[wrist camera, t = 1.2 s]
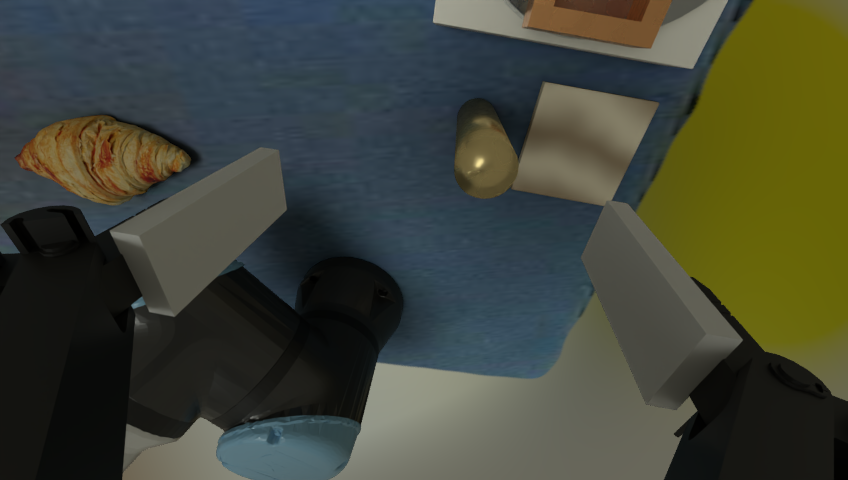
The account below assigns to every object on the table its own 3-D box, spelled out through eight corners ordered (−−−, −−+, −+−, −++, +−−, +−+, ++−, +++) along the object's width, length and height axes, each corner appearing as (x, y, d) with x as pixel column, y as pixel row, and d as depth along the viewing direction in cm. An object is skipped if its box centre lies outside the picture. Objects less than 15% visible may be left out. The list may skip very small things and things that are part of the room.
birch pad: (604, 202, 38) (608, 206, 37) (510, 185, 38) (511, 189, 37) (654, 101, 32) (659, 103, 31) (542, 81, 32) (544, 82, 31)
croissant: (207, 123, 41) (148, 100, 33) (210, 204, 42) (153, 200, 34) (55, 130, 43) (-35, 108, 35) (60, 207, 44) (-27, 203, 36)
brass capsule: (490, 141, 36) (508, 203, 22) (453, 134, 36) (448, 192, 22) (500, 102, 34) (527, 143, 20) (461, 95, 34) (461, 131, 20)
